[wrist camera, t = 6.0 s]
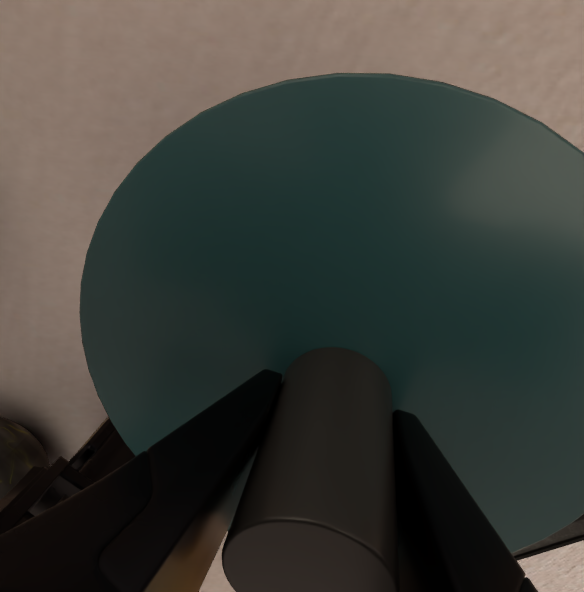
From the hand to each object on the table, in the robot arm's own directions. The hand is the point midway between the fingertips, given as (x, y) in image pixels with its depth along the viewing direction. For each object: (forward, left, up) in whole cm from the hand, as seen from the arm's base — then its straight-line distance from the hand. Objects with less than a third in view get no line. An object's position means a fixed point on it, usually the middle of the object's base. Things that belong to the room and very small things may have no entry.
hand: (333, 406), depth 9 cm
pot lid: (0, 0, -1) cm, 1 cm away
